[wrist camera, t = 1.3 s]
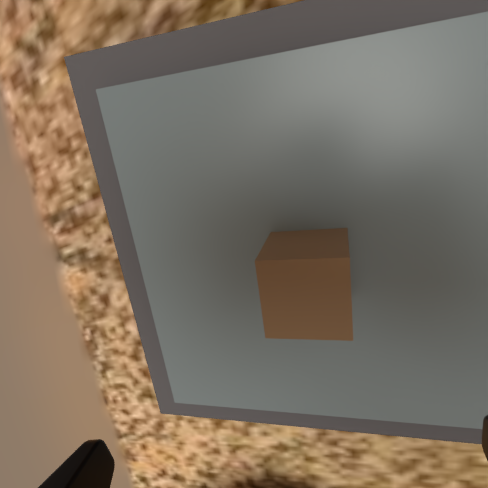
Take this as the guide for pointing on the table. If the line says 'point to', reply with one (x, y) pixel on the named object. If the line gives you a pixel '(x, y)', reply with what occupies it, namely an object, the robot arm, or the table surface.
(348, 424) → the mat
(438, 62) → the lid
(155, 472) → the table surface
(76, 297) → the table surface
